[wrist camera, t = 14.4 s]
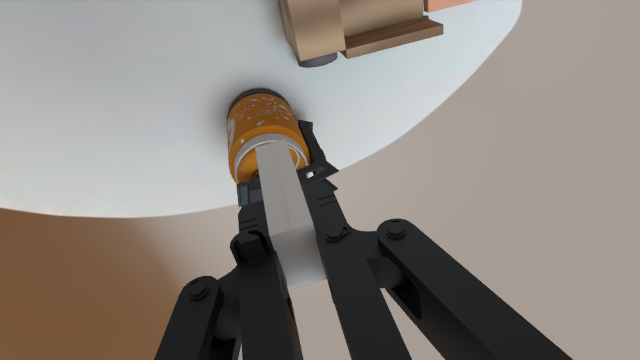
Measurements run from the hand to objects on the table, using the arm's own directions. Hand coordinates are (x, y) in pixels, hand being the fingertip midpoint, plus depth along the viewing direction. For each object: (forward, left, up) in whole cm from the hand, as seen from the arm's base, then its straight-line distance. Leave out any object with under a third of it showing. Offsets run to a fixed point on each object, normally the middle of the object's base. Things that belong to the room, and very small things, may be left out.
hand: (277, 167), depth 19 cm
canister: (+12, 0, -35) cm, 37 cm away
